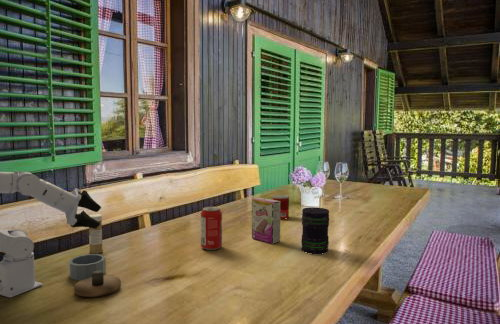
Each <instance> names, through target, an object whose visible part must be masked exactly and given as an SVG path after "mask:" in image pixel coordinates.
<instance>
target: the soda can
mask: <svg viewBox="0 0 500 324" xmlns="http://www.w3.org/2000/svg"><path fill="white" fill-rule="evenodd" d="M222 245H223V212H222V211H221V207H218V206H205V207H202V210H201V212H200V247H201V248H202V249H204V250H205V249H206V251H217V250H219V249H221V247H222ZM216 249H217V250H216Z"/></svg>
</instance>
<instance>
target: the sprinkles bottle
mask: <svg viewBox="0 0 500 324" xmlns="http://www.w3.org/2000/svg"><path fill="white" fill-rule="evenodd" d="M88 215H89V216H90V217H91V218H93V219H95V220H96V221H98V222H99V223H100V225H99V226H98V227H97V228H96V229H95V228H89V227H88V238H89V239H88V243H89V254H101V253H102V252H104V251H103V228H102V227H103V224H102V222H103V215H102V214H101V213H97V214H96V213H95V214H88Z"/></svg>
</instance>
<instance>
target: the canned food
mask: <svg viewBox="0 0 500 324" xmlns="http://www.w3.org/2000/svg"><path fill="white" fill-rule="evenodd" d="M272 200H276V201H281V207H280V208H281V210H280V219H285V218H288V219H289V217H290V196H289V195H286V194H275V195H273V196H272ZM285 220H286V219H285Z"/></svg>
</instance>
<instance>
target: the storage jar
mask: <svg viewBox="0 0 500 324" xmlns="http://www.w3.org/2000/svg"><path fill="white" fill-rule="evenodd" d="M301 210H302V213H301V215H302V216H301V225H302V234H301V239H300V240H301V242H300V243H301V251H302V252H303V251H304V252H303V253H305V252H307V253H306V254H308V253H312V254H311V255H314V254H321V255H323V254H322V253H326V252H327V253H329V243H330V242H329V240H330V239H329V225H330V210H329V209H328V208H324V207H313V206H311V207H304V208H302V209H301ZM327 253H326V254H327Z"/></svg>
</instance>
